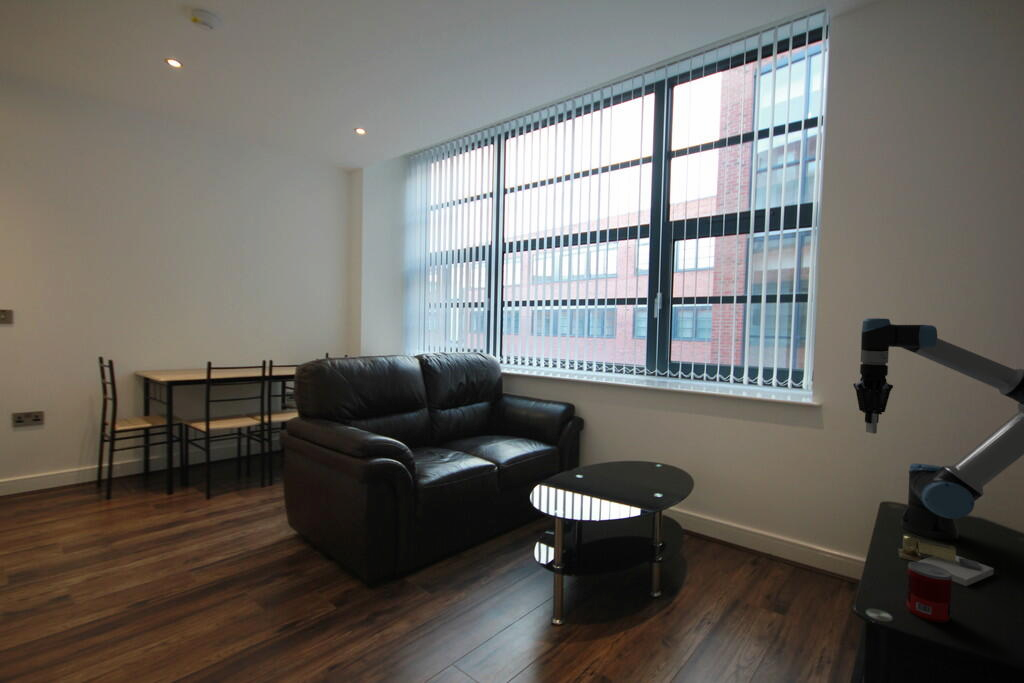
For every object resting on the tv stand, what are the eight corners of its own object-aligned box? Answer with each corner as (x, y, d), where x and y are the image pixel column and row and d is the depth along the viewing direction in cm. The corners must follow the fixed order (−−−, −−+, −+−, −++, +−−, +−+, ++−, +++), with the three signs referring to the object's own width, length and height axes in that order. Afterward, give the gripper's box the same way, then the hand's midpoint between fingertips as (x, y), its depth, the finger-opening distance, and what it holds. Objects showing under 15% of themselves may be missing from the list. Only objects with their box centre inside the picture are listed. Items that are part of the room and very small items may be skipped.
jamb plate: (898, 551, 148) (898, 548, 148) (919, 556, 146) (919, 553, 146) (900, 557, 144) (900, 554, 144) (921, 562, 141) (922, 559, 141)
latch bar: (902, 553, 145) (903, 537, 144) (902, 549, 147) (902, 533, 147) (955, 565, 137) (956, 548, 137) (953, 561, 140) (954, 544, 140)
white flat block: (944, 557, 145) (945, 549, 145) (993, 574, 135) (993, 565, 135) (917, 567, 138) (917, 558, 138) (966, 586, 128) (966, 576, 128)
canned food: (958, 625, 110) (960, 579, 110) (918, 620, 112) (920, 574, 112) (936, 607, 118) (938, 563, 118) (899, 602, 119) (901, 559, 119)
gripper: (865, 364, 157) (862, 434, 158) (901, 364, 159) (898, 435, 159) (847, 362, 165) (844, 430, 165) (881, 363, 166) (879, 430, 166)
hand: (871, 432), depth 162 cm, fingers closed
